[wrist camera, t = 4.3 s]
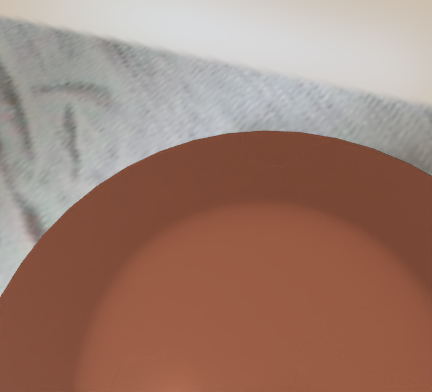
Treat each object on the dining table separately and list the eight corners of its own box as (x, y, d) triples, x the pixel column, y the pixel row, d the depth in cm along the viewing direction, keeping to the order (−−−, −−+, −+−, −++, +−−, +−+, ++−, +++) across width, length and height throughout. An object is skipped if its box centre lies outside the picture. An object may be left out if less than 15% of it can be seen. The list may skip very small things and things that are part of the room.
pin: (212, 361, 16) (-115, 833, 2) (215, 267, 17) (8, 135, 3) (307, 366, 16) (748, 1010, 2) (304, 269, 17) (560, 124, 3)
